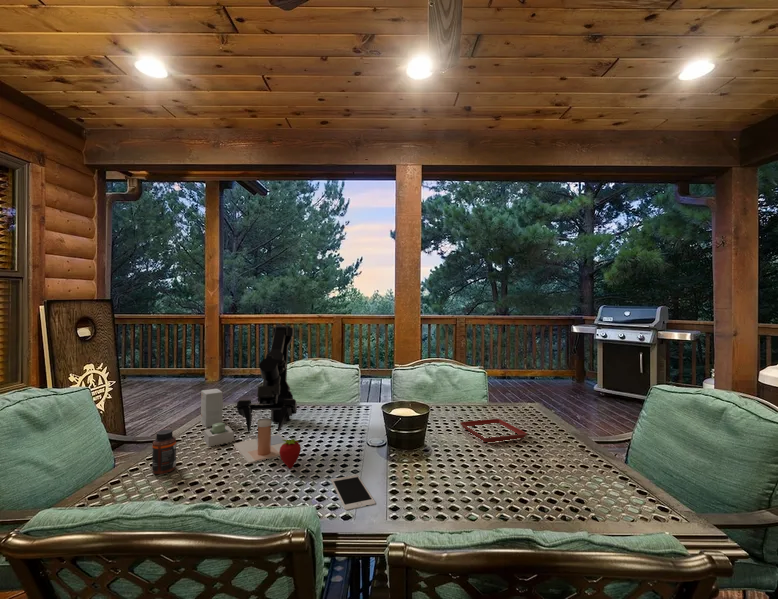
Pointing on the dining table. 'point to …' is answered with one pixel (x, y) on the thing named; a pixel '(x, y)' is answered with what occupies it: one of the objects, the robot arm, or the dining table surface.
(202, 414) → the small box
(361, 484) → the cell phone
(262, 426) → the capped orange bottle
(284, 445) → the decorative fruit
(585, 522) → the dining table surface
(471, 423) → the red square frame
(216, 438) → the button housing
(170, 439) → the supplement bottle
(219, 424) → the button
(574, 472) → the dining table surface
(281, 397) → the robot arm
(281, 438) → the sheet
